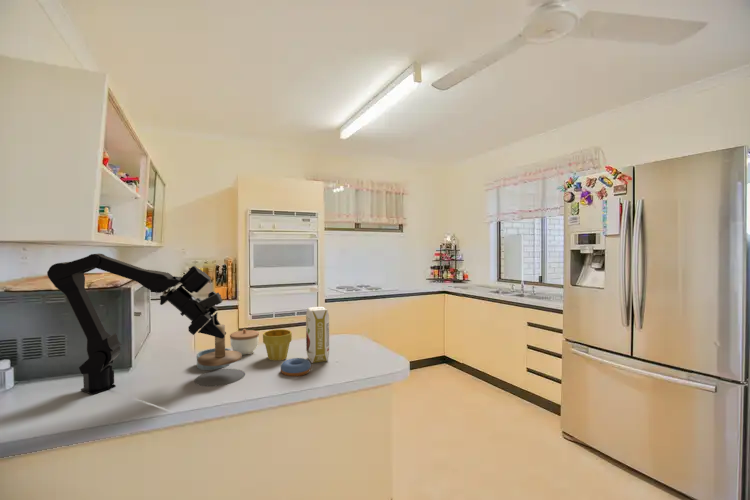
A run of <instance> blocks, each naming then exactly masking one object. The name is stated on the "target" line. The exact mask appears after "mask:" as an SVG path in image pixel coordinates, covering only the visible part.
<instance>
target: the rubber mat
mask: <svg viewBox="0 0 750 500" xmlns="http://www.w3.org/2000/svg"><path fill="white" fill-rule="evenodd" d="M245 376H246V372H245V371H243V370H241V369H237V368H220V369H214V370H209V371H207V372H205V373H202V374H200V375H198V376H196V377H195V379H194V383H195V384H196V385H198V386H201V387H210V388H211V387H221V386H225V385H227V386H228V385H231V384H233V383H237V382H239V381H240V380H242V379H244V377H245Z"/></svg>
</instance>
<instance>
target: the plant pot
mask: <svg viewBox="0 0 750 500" xmlns="http://www.w3.org/2000/svg"><path fill="white" fill-rule="evenodd" d="M292 333H293V332H292V330H289V329H285V328H284V329H283V328H282V329H281V328H279V329H277V328H276V329H271V330H270V329H269V330H267V331H264V332H263V333H262V343H263V344H264V346H265V349H266V353H267V358H268V360H270V361H285V360H287V357H288V353H289V349H290V343H291V342H292V339H293V334H292Z"/></svg>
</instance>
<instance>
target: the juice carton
mask: <svg viewBox="0 0 750 500" xmlns="http://www.w3.org/2000/svg"><path fill="white" fill-rule="evenodd" d="M306 308H307V309H306V314H305V329H306V330H305V338H306V339H305V341H306V343H305V346H306V349H305V351H306V355H307V358H308V360H309V362H310V364H311V363H312V364H315V363H316V364H317V363H321V362H322V363H323V362H327V361H329V357H330V315H329V309H327V308H325V307H324V306H311V307H306Z"/></svg>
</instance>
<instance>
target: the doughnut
mask: <svg viewBox="0 0 750 500" xmlns="http://www.w3.org/2000/svg"><path fill="white" fill-rule="evenodd" d="M311 367H312V365H311V361H310V360H309V359H306V358H303V357H294V358H289V359H285V360H283V361H282V363H281V364H280V373H281V374H282V375H283V376H287V377H303V376H305V375H308V373H309V372H310V371H311Z"/></svg>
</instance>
